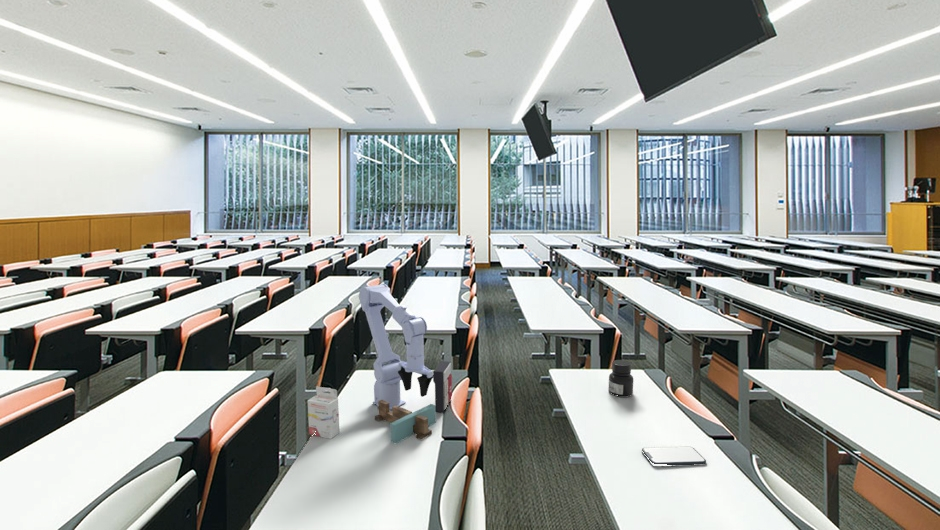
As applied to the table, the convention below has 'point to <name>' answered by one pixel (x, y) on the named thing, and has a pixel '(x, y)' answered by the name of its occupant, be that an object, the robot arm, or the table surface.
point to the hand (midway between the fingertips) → (415, 392)
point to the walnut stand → (398, 413)
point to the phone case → (674, 455)
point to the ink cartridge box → (323, 413)
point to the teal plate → (411, 423)
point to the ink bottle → (621, 378)
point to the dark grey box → (442, 385)
